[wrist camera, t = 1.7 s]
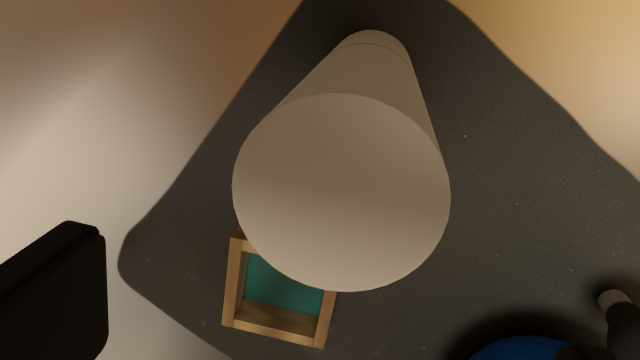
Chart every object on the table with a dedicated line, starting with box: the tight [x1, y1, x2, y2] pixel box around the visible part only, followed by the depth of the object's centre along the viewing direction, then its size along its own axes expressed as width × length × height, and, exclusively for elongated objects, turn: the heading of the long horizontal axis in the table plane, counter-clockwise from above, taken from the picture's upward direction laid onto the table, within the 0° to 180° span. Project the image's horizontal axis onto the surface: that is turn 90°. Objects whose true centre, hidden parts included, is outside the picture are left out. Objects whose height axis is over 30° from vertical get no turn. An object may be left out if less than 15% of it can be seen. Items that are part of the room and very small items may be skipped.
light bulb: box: [598, 289, 640, 360], centre depth 37 cm, size 6×6×10 cm
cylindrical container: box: [232, 30, 451, 292], centre depth 25 cm, size 7×7×25 cm
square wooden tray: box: [222, 224, 337, 350], centre depth 44 cm, size 11×11×4 cm
